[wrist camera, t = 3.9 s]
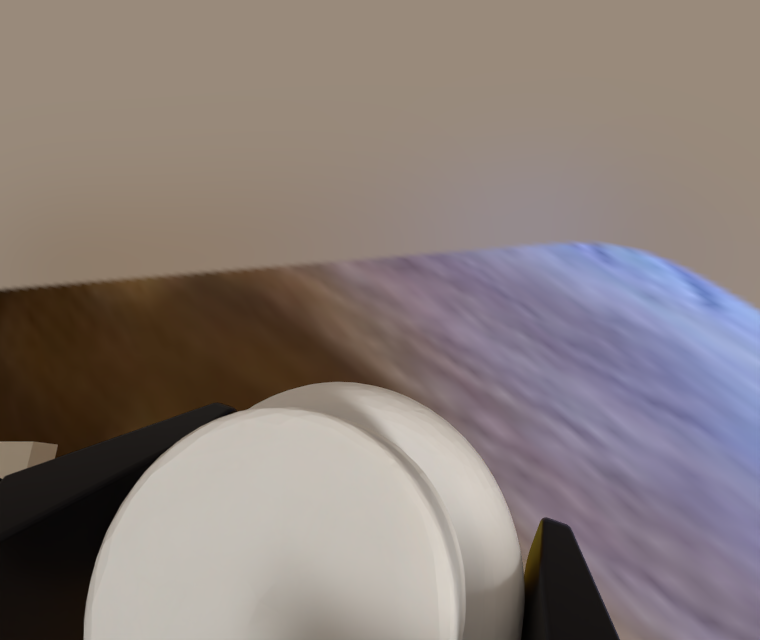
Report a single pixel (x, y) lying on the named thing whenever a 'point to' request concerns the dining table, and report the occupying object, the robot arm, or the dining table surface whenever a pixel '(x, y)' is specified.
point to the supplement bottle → (313, 530)
